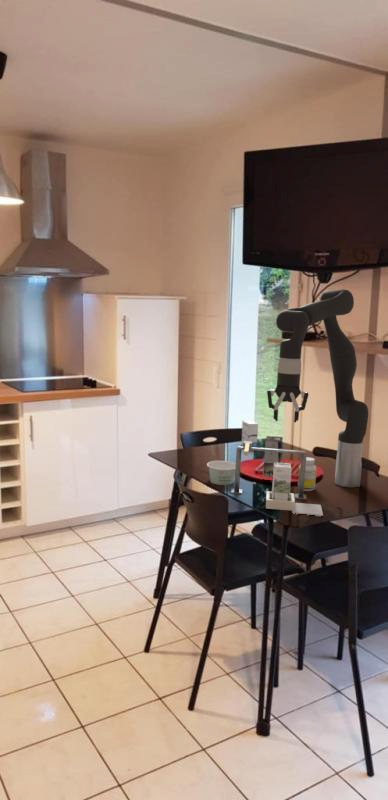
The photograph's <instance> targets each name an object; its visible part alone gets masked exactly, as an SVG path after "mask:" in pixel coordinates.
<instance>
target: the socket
mask: <svg viewBox="0 0 388 800" xmlns="http://www.w3.org/2000/svg"><path fill="white" fill-rule="evenodd" d="M271 496H272V491H269V490H266V497H265V510H266V509H268V510H269V509H271V510H281V511H290V512H292V509H294V506H295V503H296V502H295V501H296V499H295V493H294V492H293V493H292V492H290V496H289V501H284V500H272V499H271Z"/></svg>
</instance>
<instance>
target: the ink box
mask: <svg viewBox="0 0 388 800" xmlns="http://www.w3.org/2000/svg"><path fill="white" fill-rule="evenodd" d="M241 422H242V424H241V427H242V428H241V445H242V446H243V443H244V441H251V442H252V447H256V448H258V436H259V435H258V431H259V430H258V429H259V423H257V422H255V421H253V420H250V419H249V420H242V421H241Z"/></svg>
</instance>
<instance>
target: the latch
mask: <svg viewBox="0 0 388 800" xmlns="http://www.w3.org/2000/svg"><path fill="white" fill-rule="evenodd" d="M242 446H243V447H245V449H244V450H243V456H249V451H250V450H249V448H252V442H251V441H244V443H243V445H242Z"/></svg>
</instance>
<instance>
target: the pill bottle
mask: <svg viewBox="0 0 388 800" xmlns="http://www.w3.org/2000/svg"><path fill="white" fill-rule="evenodd" d="M315 460H316V459H315V458H313V457H309V456H306V468H305V481H304V492H311V491H315V489H316V481H317V479H316V478H317V466H316V465H315V463H316V461H315ZM300 466H301V464H300V465H299V466H298V476H297V477H298V478H297V488H298V489H299V479H300Z"/></svg>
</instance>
